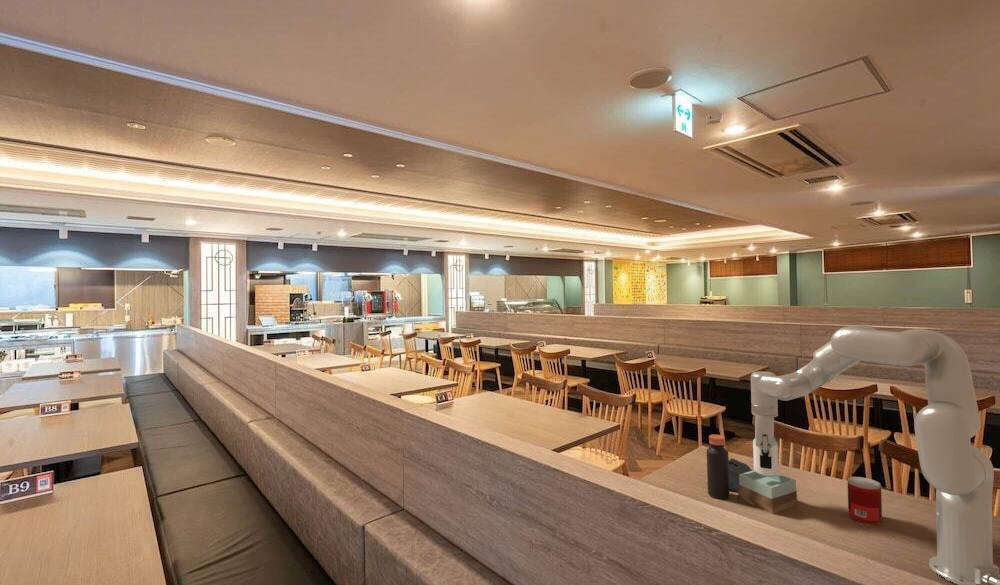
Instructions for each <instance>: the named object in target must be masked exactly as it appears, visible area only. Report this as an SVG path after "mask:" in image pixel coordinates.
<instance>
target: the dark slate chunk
mask: <svg viewBox="0 0 1000 585" xmlns="http://www.w3.org/2000/svg"><path fill="white" fill-rule="evenodd" d="M750 471H753V470H752V469H751V467H750V466H749V465H747V463H744V462H742V461H739V460H737V459H735V458H730V459H729V491H731V492H732V491H733V492H734V493H737V494H738V485H739V474H743V473H746V472H750Z"/></svg>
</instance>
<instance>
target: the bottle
mask: <svg viewBox="0 0 1000 585" xmlns="http://www.w3.org/2000/svg"><path fill="white" fill-rule="evenodd" d="M708 441H709V442H708V443H709V447H708V448H706V472H707V474H706V475H707V479H706V480H707V493H708V495H709V496H710V497H711V498H714V499H719V500H727V499H728V498H730V496H731V495H730V491H731V490H729V460H730V459H729V452H728V450H727V449H726V448H725V446H726V437H725V436H723V435H721V434H710V435H709V436H708Z"/></svg>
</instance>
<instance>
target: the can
mask: <svg viewBox="0 0 1000 585" xmlns="http://www.w3.org/2000/svg"><path fill="white" fill-rule="evenodd" d="M767 440H768V435H767ZM778 445H779V444H778V442H777V440H776V437H774V438H773V447H772V448H771V447H770V456H771V461H772V469H767V468H761V467H760V455H761V447H760V446H761V445H760V446H756V444H755V438H754V439H753V440H752V450H753V451H752V453H753V456H752V457H753V470H754V471H755V472H756V473H758V474H759V475H762V476H766V477H774V476H776V475H778V474H780V473H779V472H780V470H779V446H778ZM762 446H763V443H762ZM767 446H769V444H767ZM762 449H763V448H762ZM767 450H768V448H767ZM768 454H769V453H768ZM768 456H769V455H768Z"/></svg>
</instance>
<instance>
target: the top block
mask: <svg viewBox="0 0 1000 585" xmlns="http://www.w3.org/2000/svg"><path fill="white" fill-rule="evenodd" d="M739 485H741V486H743V487H745V488H748V489H750V490H752V491H755V492H757V493H759V494H762V495H764V496H766V497H769V498H771V499H773V498H776V497H779V496H782V495H786V494H789V493H792V492H795V491H797V480H796V479H793V478H791V477H789V476H786V475H782V474H780V473H779V474H778V475H776V476H774V477H766V476H762V475H759V474H758V473H756V472H755V471H754V469H753V470H752V471H750V472H746V473H743V474H739Z"/></svg>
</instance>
